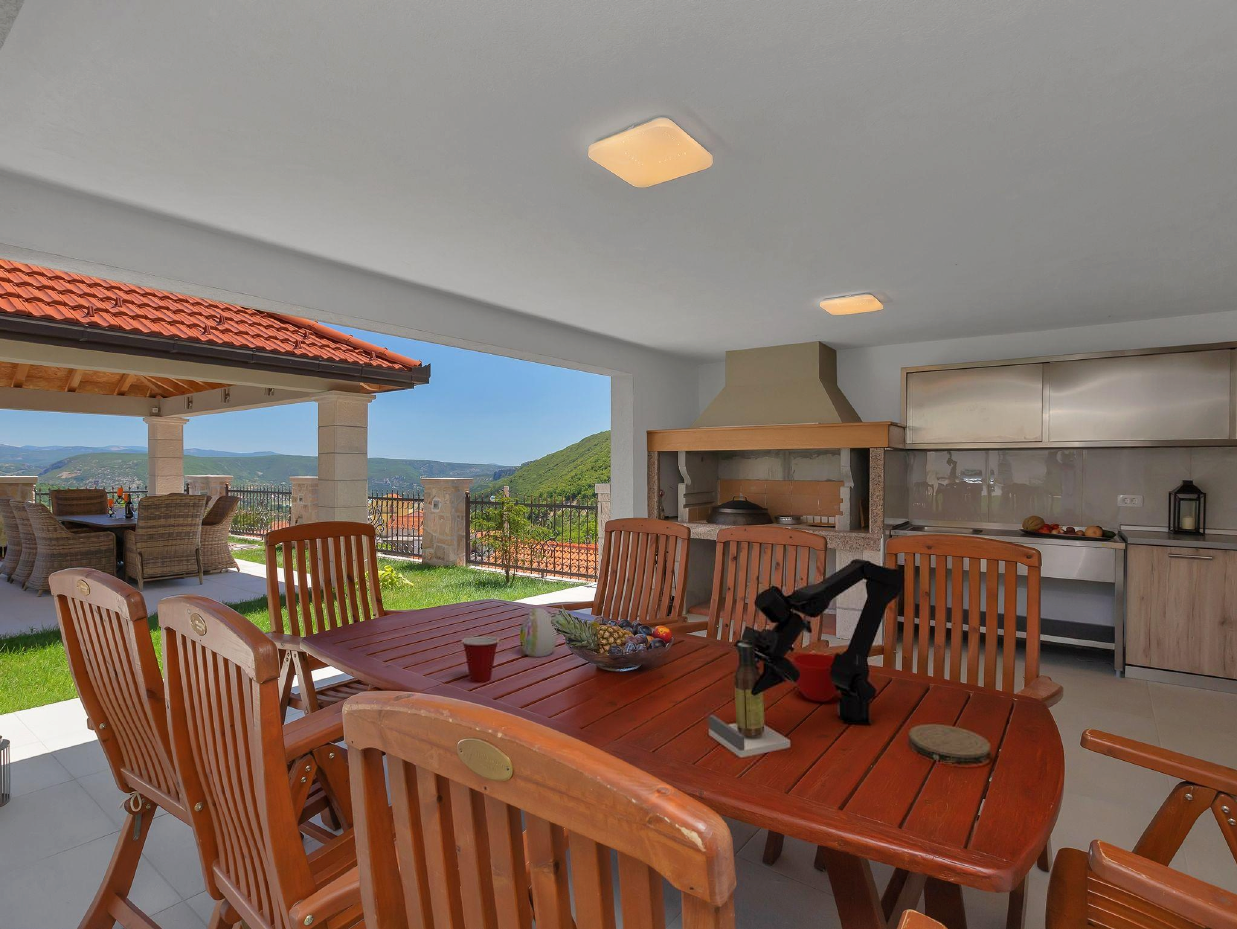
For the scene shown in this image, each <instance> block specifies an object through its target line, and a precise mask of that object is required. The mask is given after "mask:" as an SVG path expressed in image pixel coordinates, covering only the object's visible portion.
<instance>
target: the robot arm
mask: <svg viewBox="0 0 1237 929" xmlns="http://www.w3.org/2000/svg"><path fill="white" fill-rule="evenodd" d="M863 580H865V583H864V584H865V585H864V586H865V590H866V595H867V596H866V600H865V601H864V605H863V606H862V609H861V613H860V615H859V618H858V620H857V623H856V625H855V628H854V631H853V634H852V636H851V639H850V641H849V643H848V647H847V649H846V650H845V651H844V652H843V653H835V654H834V656H833V657H834V660H833V663H832V665H831V666H830V668H831V671H830V677H831V680H832V682H833V683H834V687H835V690H837V692H838V691H839V692H840V696H839V697H838V698H837V714H838V716H839V718H840V719H841V721H842V723H843V722H844V724H853V723H854V724H855V725H858V724H859V725H868V726H869V725H871V724H872V722H871V719H870V701H871V700H872V699H875V696H876V694H877V689H876V688H875V686H874V684H873V685H872V683H871V682H870V681H869V675H870V667H869V661H868V658H869V655H870V652H871V649H872V647H873V644H874V642H875V639H876V636H877V634H878V630H879V628H880V626H881V623H882V620H883V618H884V615H885V612H886V609H887V607H888V605H889V604H890V603H891V602H892V601H894V600H895V599H896V598H898V596H899V594H900V593H901V591H902V589H903V587H904V584H905V577H904V574H903V572H902V571H901V570H900V569H898V568H895V567H889V566H883V565H878V564H875V563H874V562H871V561H870V560H867V559H862V558H861V559H860V558H855V559H852V560H851V561H850V562H849V563H848V564H846V565H844V567H842V568H841V569H838V570H837V571H835V572H834V573H833V574H831V575H829V576H828V577H826V578H824V579H823V580H821V581H820V582H817V583H815V584H811V585H810V584H809V585H804V586H802V587H799V588H797V589H795V590H793V591H792V592H791V594H788V595H787V594H786V595H785V594H784V593H783V592H782V590H781V589H780V588H779V586H776V585H771V586H770V588H767V589H765V590H763V591H762V592H760V593H758V594H757V595H756V597H755V598H754V606H755V608H756V609H757V610H758V611H759V612H760V613H761V614H762V615H763V616H764V617H765V619H767V620H768V621H769V622H770V623H771V624H774V625H773V627H772V628H771V629H769V628H767V629H766V628H763V629H762V630H761V631H760V630H758V629H755V628H752V627H750V626H747V625H745V627H744V629H743V633H742V635H741V639H737V640H736V641H735V643H733V648H734V649H735V650H736V651H737V653H738V654H739V651H738V643H741V642H750V643H753V644H755V645H756V651H755V658H756V665H757V664H759V663H760V662H761V663H763V664H762V665H763V668H762V670H763V671H762V673H760V674H761V676H760V677H759V679H758V681H757V682H756V684H755V685H754V687H753V689H752V691H751V694H752V695H753V696H755V695H757V694H759V693H761V692H763V693H764V692H765V691H767V690H769V689H771V688H773V687H776V686H778V685H780V684H782V683H785V684H786V683H787V682H791V683H793V684H796V682H797V680H798V679H799V678H800V671H799V670H798V669H797V668H796V667H795V666H794V665H793V661H791V660H790V659H789V658H787V657H785V656H786V655H787V653H788V652H790V653H793V652H794V651H795V648H794V647H793V645H794V643H796V641H797V639H798V638H799V637H800V635H801V634H802V632H805V633H808V634H812V633H813V632H812V631H813V630H812V625H811V621H810V620H808V619H804V618H803V616H806V617H809V618H813V619H816V618H818V617H820V616H821V615H822V614H823V613H824V612H825V611H826V610H827V609H828V608H830V604H831V602H832V601H833V600H834V599H835V598H837V597H838V596H840V595H841V594H842V593H844V592H846V591H847V590H849V589H851V588H852V587H854V586H855V585H856V584H858V583H860V582H861V581H863ZM802 615H803V616H802ZM757 668H758V670H760V669H761V668H760V667H759V666H758V665H757ZM734 685H735V682H734ZM854 724H853V725H854Z"/></svg>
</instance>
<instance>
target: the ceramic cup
mask: <svg viewBox="0 0 1237 929" xmlns="http://www.w3.org/2000/svg"><path fill="white" fill-rule="evenodd" d="M833 660H834V656H833V655H828V654H824V653H823V654H822V653H801V654H797V655H795V656H793V659H792V663H793V665H794V666H795V667H796V668H797V669H798V670H799V671H800V678H799V679H798V680H797V682H796V683H795V685H796V686H797V688H798V689H799V691H800V693H801V694H802V695H803V696H804V697H805V699H807V700H809V699H810V700H809V701H811V700H812V702H816V701H818V703H824V702H825V703H826V702H829V701H831V699H832V698H833V697H834V696H835V695H836V694H837V692H838V691H837V690H835V687H834V683H833V682H832V680H831V677H830V671H831V668H830V666H831V665H832V663H833Z"/></svg>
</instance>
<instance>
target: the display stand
mask: <svg viewBox="0 0 1237 929" xmlns="http://www.w3.org/2000/svg"><path fill="white" fill-rule="evenodd" d="M708 735H709V737H711V738H712V739H714V740H715V741H717V743H720V744H721V745H722V746H724V747H725V748H726V749H728V750H729V751H730V752H732V753H733V754H735V756H737V757H739V758H745V757H751V756H757V755H761V754H765V753H770V752H774V751H779V750H784V749H785V750H786V749H788V748H791V740H790V739H788V738H787V737H785V736H784V735H782V734H780V733H779V732H777V731H776V730H773V729H772V728H770V727H768V726H767V725H765V724H764V732H763V733H762V734H761V735H757V736H747V735H744V734H741V733H739V731H738V728H737V724H736V723H729V724H728V723H725V722H724V721H722V719H720V718H718V717H717V716H715V715H713V714H709V715H708Z"/></svg>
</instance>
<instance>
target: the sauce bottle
mask: <svg viewBox="0 0 1237 929" xmlns="http://www.w3.org/2000/svg"><path fill="white" fill-rule="evenodd" d="M756 649H757V648H756V645H755V644H753V643H750V642H741V643H738V651H739V653H738V664H737V666H736V669H735V671H734V683H735V684H734V697H735V700H734V701H735V721H736V724H737V728H738V731H739V733H741V734H744V735H747V736H757V735H761V734H762V733H763V732H764V725H765V709H764V708H765V707H764V706H765V705H764V691H763V692H761V693H759V694H757V695H755V696H753V695H752V694H751V691H752V689H753V687H754V685H755V684H756V682H757V681H758V679H759V677H760V676H761V674H762V673H760V671H759V670H760V669H759V670H758V668H757V666H758V665H757V664H756V658H755V651H756ZM738 651H737V652H738Z"/></svg>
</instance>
